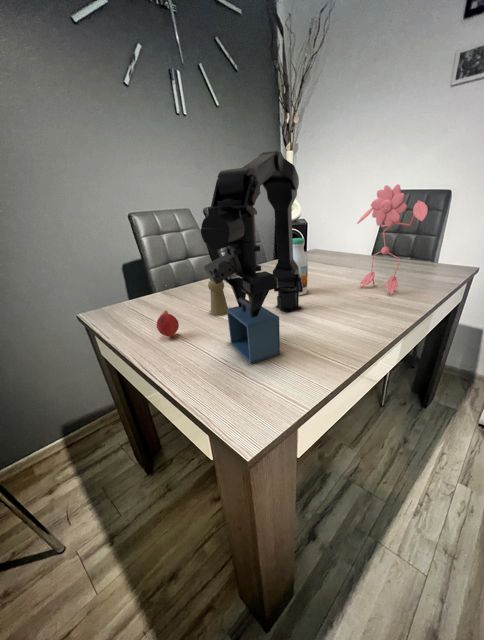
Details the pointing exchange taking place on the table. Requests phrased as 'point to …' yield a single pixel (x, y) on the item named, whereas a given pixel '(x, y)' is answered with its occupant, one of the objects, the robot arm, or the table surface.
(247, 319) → the blue drawer
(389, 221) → the figurine
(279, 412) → the table surface
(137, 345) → the table surface
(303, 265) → the milk bottle
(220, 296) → the tan chess pawn
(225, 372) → the table surface
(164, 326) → the onion
